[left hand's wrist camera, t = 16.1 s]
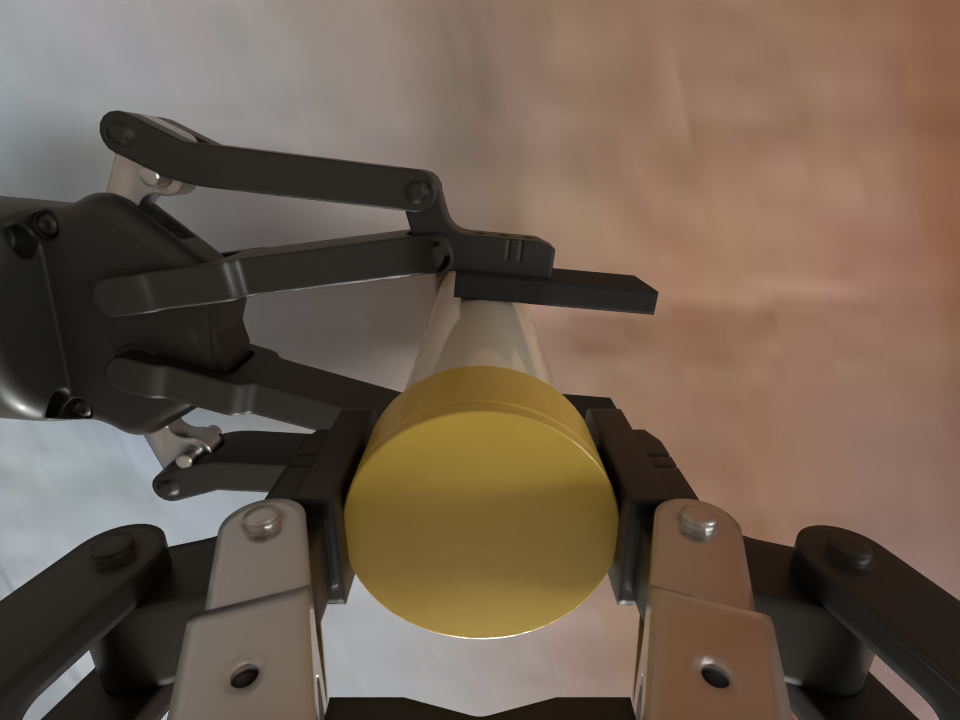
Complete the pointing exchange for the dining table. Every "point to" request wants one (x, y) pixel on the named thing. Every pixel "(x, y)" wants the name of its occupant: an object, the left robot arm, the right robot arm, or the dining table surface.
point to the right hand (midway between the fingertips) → (628, 360)
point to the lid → (481, 506)
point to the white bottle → (479, 337)
